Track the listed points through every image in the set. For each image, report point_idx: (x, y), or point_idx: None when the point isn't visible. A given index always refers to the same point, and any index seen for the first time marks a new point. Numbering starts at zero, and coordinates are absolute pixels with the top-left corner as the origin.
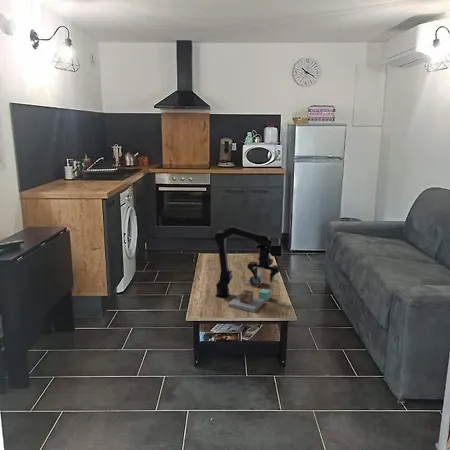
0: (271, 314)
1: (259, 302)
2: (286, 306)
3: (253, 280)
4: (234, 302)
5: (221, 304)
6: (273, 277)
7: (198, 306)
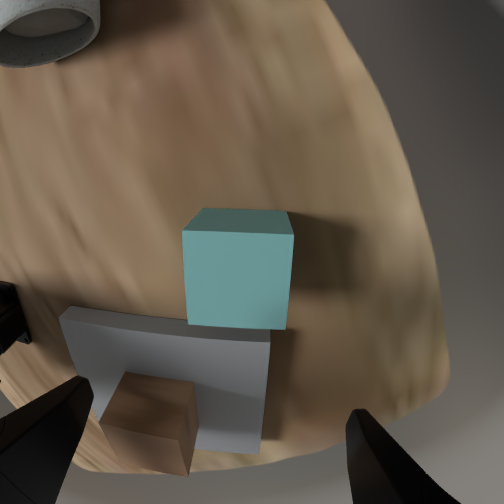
0: None
1: (252, 392)
2: (435, 306)
3: (30, 33)
4: None
5: None
6: (415, 481)
7: None
